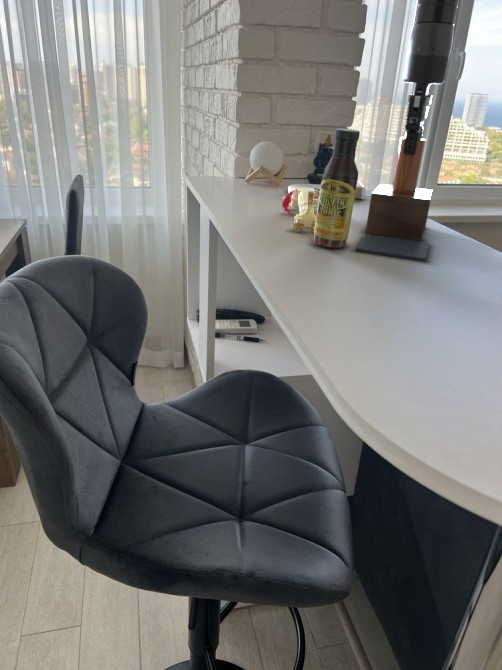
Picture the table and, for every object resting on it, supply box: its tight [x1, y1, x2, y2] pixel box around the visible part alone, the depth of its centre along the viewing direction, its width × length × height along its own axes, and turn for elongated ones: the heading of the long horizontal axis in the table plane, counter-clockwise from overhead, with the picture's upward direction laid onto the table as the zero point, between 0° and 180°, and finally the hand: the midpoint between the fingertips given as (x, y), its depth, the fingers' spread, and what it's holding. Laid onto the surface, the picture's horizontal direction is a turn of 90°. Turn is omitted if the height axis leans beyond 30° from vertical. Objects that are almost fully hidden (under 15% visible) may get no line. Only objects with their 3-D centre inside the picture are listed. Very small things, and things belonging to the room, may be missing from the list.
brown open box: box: [365, 183, 434, 242], centre depth 104 cm, size 11×12×8 cm
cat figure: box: [281, 187, 320, 233], centre depth 109 cm, size 10×9×25 cm
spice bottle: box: [391, 127, 427, 194], centre depth 99 cm, size 5×5×12 cm
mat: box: [355, 233, 430, 262], centre depth 93 cm, size 12×11×1 cm
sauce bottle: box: [313, 128, 361, 249], centre depth 89 cm, size 6×6×20 cm
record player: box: [287, 181, 366, 200], centre depth 137 cm, size 12×3×20 cm
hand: (410, 152), depth 99 cm, fingers closed on spice bottle, 4 cm apart
